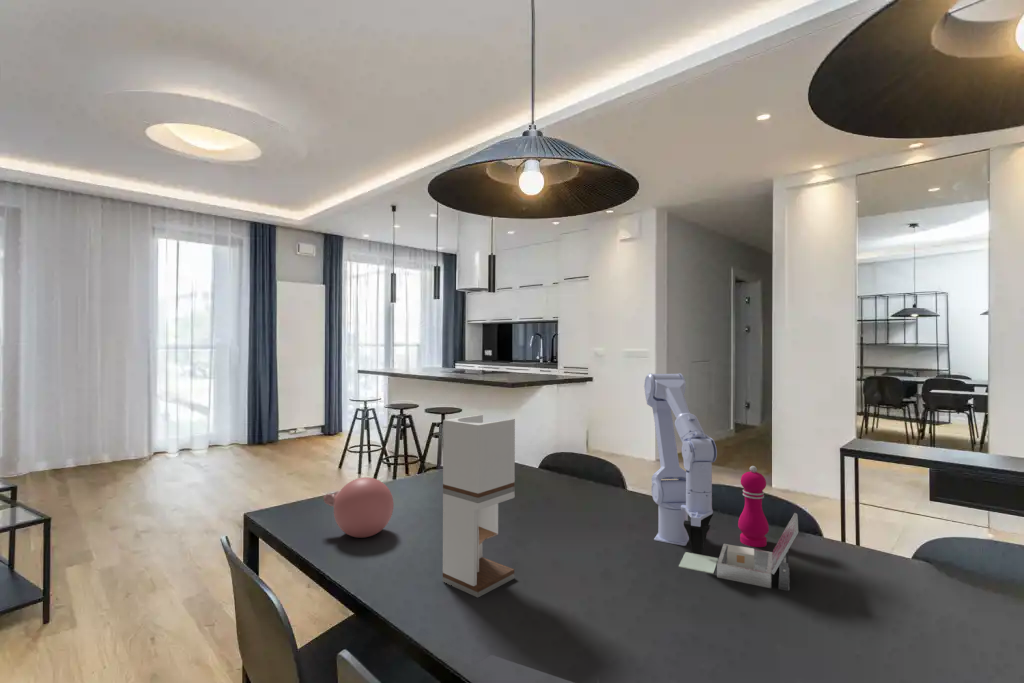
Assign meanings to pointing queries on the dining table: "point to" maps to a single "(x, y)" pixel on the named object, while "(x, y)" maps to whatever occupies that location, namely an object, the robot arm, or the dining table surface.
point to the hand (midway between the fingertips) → (698, 547)
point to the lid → (784, 543)
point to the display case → (475, 499)
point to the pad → (698, 562)
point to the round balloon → (362, 507)
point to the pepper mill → (753, 510)
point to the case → (754, 570)
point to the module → (740, 556)
